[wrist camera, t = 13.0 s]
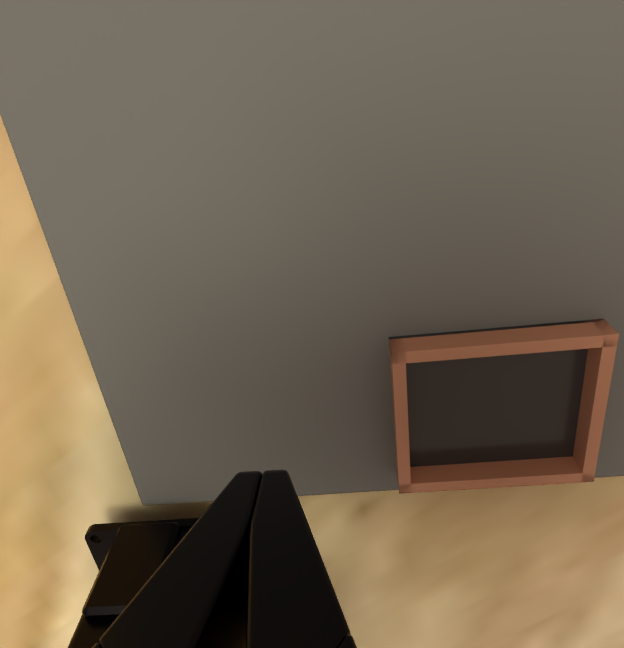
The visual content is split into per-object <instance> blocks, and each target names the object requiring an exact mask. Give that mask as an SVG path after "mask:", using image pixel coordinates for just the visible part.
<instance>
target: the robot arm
mask: <svg viewBox="0 0 624 648" xmlns="http://www.w3.org/2000/svg"><path fill="white" fill-rule="evenodd" d="M85 540H86V542H87V545H88V547H89V549H90V551H91V553H92V556H93V558H94V560H95V562H96V565H97V567H98V569H99V573H98V575H97V578H96V580H95V582H94V584H93V587H92V589H91V591H90V593H89V596H88V598H87V600H86V602H85V605H84V607H83V610H82V613H83V614H82V616H81V619H80V621H79V623H78V625H77V628H76V630H75V632H74V635H73V637H72V639H71V641H70V644H69V646H68V648H357V647H356V645H355V642H354V639H353V637H352V636H351V635H350V630H349V627H348V625H347V622H346V620H345V617H344V614H343V612H342V609H341V607H340V604H339V602H338V599H337V596H336V594H335V591H334V589H333V586H332V584H331V581H330V578H329V576H328V573H327V571H326V568H325V566H324V563H323V560H322V558H321V555H320V553H319V550H318V548H317V545H316V542H315V540H314V537H313V535H312V532H311V530H310V527H309V524H308V522H307V519H306V517H305V514H304V512H303V509H302V506H301V504H300V501H299V499H298V496H297V494H296V491H295V488H294V486H293V483H292V481H291V478H290V476H289V473H288V471H287V470H284V469H282V470H266V471H264V472H263V474H262V472H260V471H243V472H238V473H237V474H236V475H235V476H234V477H233V478H232V480H231V481H230V482H229V483H228V484H227V486H226V487H225V488H224V489H223V490H222V492H221V493H220V494H219V495H218V496H217V498H216V499H215V500H214V501H213V502H212V504H211V505H210V506H209V507H208V509H207V510H206V511H205V512H204V513H203V515H202V516H201V517H200V518H191V519H174V520H158V521H141V522H124V523H107V524H94V525H91V526H90V527H89V529H88V531H87V533H86V535H85Z"/></svg>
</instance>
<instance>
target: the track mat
mask: <svg viewBox="0 0 624 648" xmlns="http://www.w3.org/2000/svg"><path fill="white" fill-rule="evenodd" d="M0 114H1V117H2V120H3V123H4V125H5V128H6V131H7V134H8V136H9V139H10V142H11V145H12V147H13V150H14V153H15V156H16V158H17V161H18V164H19V167H20V169H21V172H22V175H23V178H24V180H25V183H26V186H27V189H28V191H29V194H30V197H31V200H32V202H33V205H34V208H35V210H36V213H37V216H38V219H39V221H40V224H41V227H42V230H43V232H44V235H45V238H46V241H47V243H48V246H49V249H50V252H51V254H52V257H53V260H54V263H55V265H56V268H57V271H58V274H59V276H60V279H61V282H62V285H63V287H64V290H65V293H66V296H67V298H68V301H69V304H70V307H71V309H72V312H73V315H74V318H75V320H76V323H77V326H78V329H79V331H80V334H81V337H82V340H83V342H84V345H85V348H86V351H87V353H88V356H89V359H90V362H91V364H92V367H93V370H94V373H95V375H96V378H97V381H98V384H99V386H100V389H101V392H102V394H103V397H104V400H105V403H106V405H107V408H108V411H109V414H110V416H111V419H112V422H113V425H114V427H115V430H116V433H117V436H118V438H119V441H120V444H121V447H122V449H123V452H124V455H125V458H126V460H127V463H128V466H129V469H130V471H131V474H132V477H133V480H134V482H135V485H136V488H137V491H138V493H139V496H140V499H141V502H142V504H143V505H159V504H176V503H192V502H208V501H214V500H215V499H216V498H217V496H218V495H219V494H220V493H221V492H222V490H223V489H224V488H225V487H226V486H227V484H228V483H229V482H230V481H231V480H232V478H233V477H234V476H235V475H236V474H237V473H238V472H243V471H260V472H262V474H263V472H264V471H266V470H282V469H284V470H287V471H288V473H289V476H290V478H291V481H292V483H293V486H294V488H295V491H296V494H297V496H305V495H321V494H337V493H353V492H369V491H386V490H399V488H398V481H397V475H396V459H395V442H394V425H393V407H392V390H391V373H390V355H389V338H388V337H395V336H406V335H418V334H430V333H441V332H453V331H465V330H476V329H488V328H499V327H511V326H523V325H534V324H546V323H558V322H569V321H581V320H593V319H604V320H605V321H606V322H607V323H608V324H609V325H610V326H612V327H613V328H614V329H615V330H616V331H617V332H618V333H619V337H618V343H617V349H616V355H615V360H614V366H613V372H612V378H611V384H610V389H609V395H608V401H607V407H606V413H605V419H604V424H603V430H602V436H601V442H600V448H599V453H598V459H597V465H596V471H595V477H594V478H596V477H612V476H624V0H0Z"/></svg>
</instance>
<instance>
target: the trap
mask: <svg viewBox="0 0 624 648" xmlns="http://www.w3.org/2000/svg"><path fill="white" fill-rule="evenodd" d="M618 337H619V333H618V332H617V331H616V330H615V329H614V328H613V327H612V326H610V325H609V324H608V323H607V322H606V321H605V320H604V319H593V320H581V321H569V322H558V323H546V324H534V325H523V326H511V327H499V328H488V329H476V330H465V331H453V332H441V333H430V334H418V335H406V336H395V337H388V338H389V355H390V373H391V390H392V407H393V425H394V442H395V459H396V475H397V481H398V488H399V493H414V492H430V491H446V490H463V489H479V488H495V487H511V486H528V485H544V484H560V483H577V482H593V481H594V477H595V471H596V465H597V459H598V453H599V448H600V442H601V436H602V430H603V424H604V419H605V413H606V407H607V401H608V395H609V389H610V384H611V378H612V372H613V366H614V360H615V355H616V349H617V343H618Z"/></svg>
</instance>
